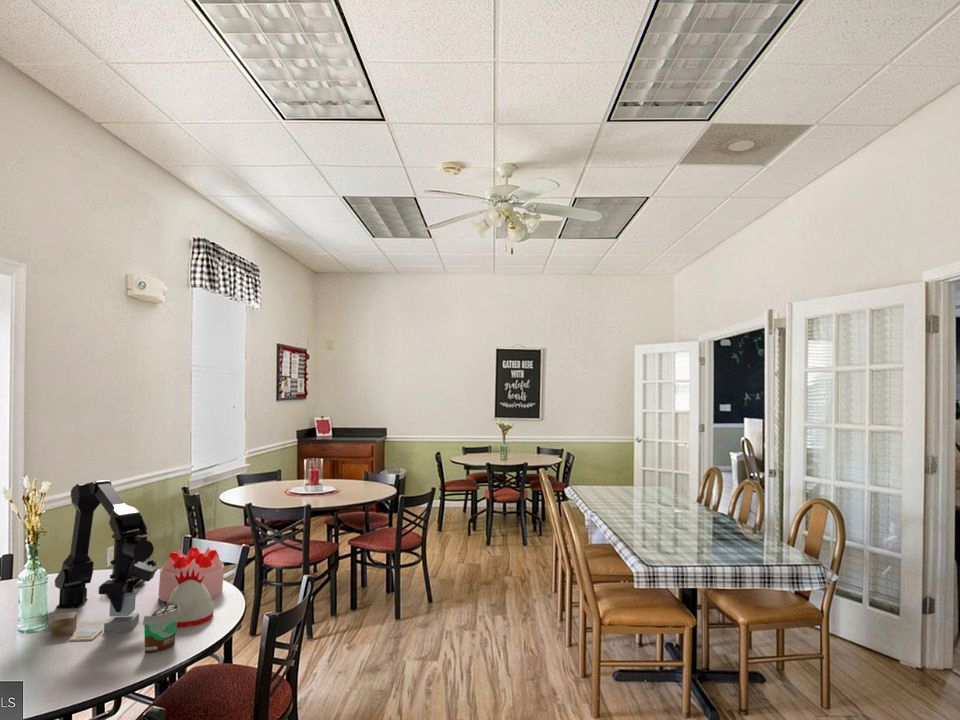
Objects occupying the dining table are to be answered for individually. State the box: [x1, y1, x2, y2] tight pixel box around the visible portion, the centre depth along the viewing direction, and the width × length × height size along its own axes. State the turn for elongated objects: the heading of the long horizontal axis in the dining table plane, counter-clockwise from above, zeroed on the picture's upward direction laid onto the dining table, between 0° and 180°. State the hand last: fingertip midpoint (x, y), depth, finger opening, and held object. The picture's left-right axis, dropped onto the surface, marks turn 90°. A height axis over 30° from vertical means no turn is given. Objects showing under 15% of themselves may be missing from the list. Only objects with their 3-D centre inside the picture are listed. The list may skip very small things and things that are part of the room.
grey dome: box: [168, 569, 214, 629], centre depth 187 cm, size 14×14×15 cm
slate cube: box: [109, 592, 137, 618], centre depth 180 cm, size 5×5×5 cm
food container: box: [142, 602, 181, 654], centre depth 168 cm, size 12×6×10 cm, turn 179°
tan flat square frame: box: [68, 629, 103, 642], centre depth 173 cm, size 6×6×1 cm
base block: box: [103, 612, 140, 634], centre depth 180 cm, size 7×7×3 cm
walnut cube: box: [51, 611, 78, 639], centre depth 174 cm, size 5×5×5 cm
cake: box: [158, 546, 225, 603], centre depth 208 cm, size 20×20×14 cm
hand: (122, 608), depth 180 cm, fingers closed on slate cube, 5 cm apart
